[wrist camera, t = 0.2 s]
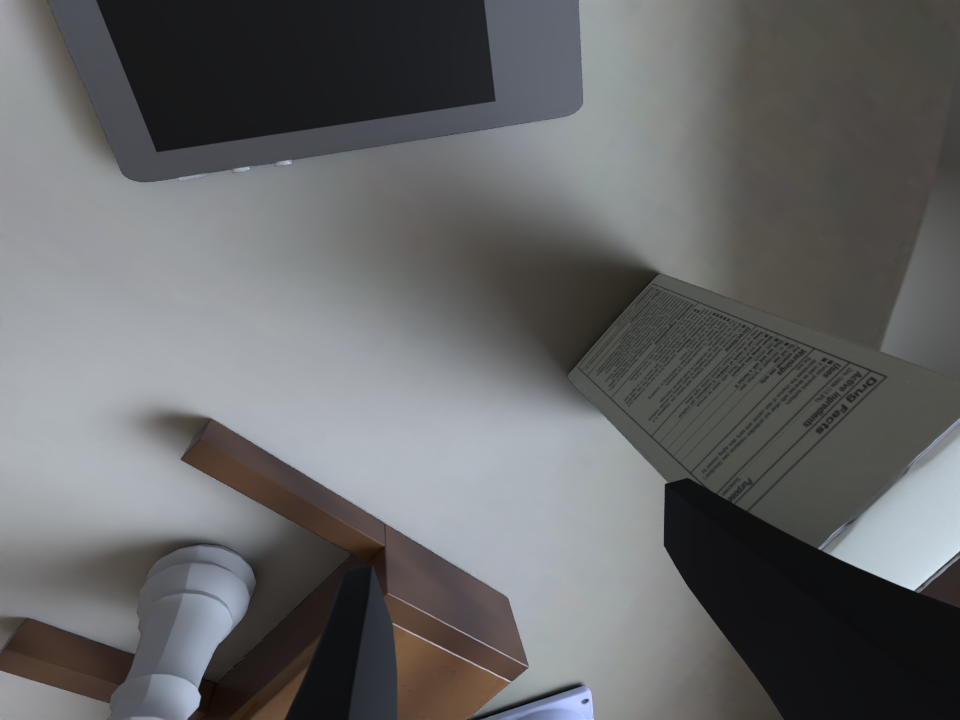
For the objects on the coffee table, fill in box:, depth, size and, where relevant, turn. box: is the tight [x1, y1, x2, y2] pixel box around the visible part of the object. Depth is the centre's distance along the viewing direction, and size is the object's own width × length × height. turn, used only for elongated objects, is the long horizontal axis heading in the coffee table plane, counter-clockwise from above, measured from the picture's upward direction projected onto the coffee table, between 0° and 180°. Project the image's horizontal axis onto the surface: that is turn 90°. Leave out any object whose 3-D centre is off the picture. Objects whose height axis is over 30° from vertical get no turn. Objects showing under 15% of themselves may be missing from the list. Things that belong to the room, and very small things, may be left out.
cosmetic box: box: [568, 274, 960, 593], centre depth 16 cm, size 6×4×12 cm
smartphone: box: [47, 0, 583, 182], centre depth 14 cm, size 15×8×1 cm, turn 98°
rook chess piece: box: [107, 544, 256, 720], centre depth 18 cm, size 4×4×8 cm
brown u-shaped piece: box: [0, 419, 529, 720], centre depth 22 cm, size 18×14×4 cm
